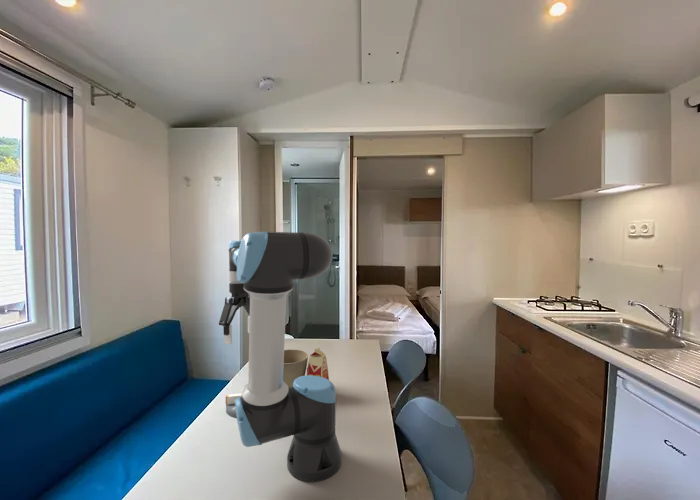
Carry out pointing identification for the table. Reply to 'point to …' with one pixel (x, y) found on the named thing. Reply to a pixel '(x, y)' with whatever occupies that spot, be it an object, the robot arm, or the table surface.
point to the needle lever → (232, 398)
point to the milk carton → (318, 364)
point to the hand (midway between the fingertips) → (240, 337)
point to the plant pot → (294, 365)
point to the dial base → (231, 410)
